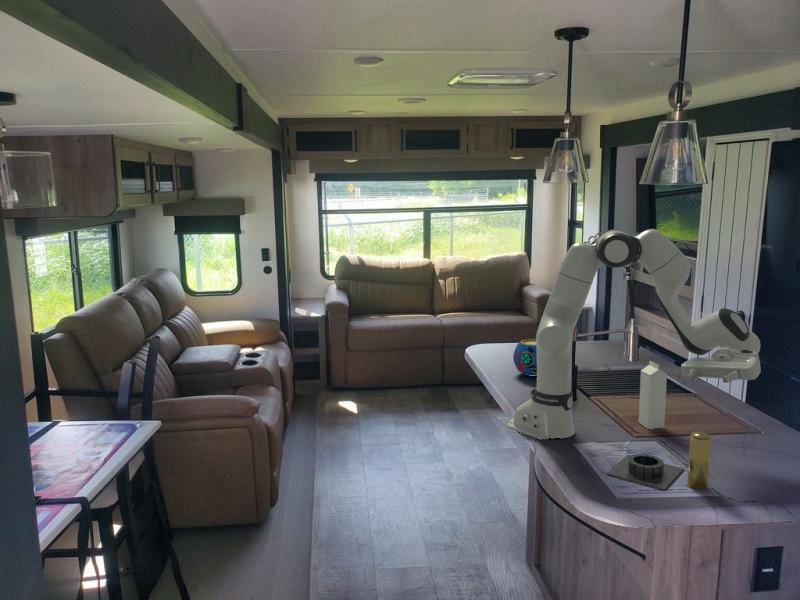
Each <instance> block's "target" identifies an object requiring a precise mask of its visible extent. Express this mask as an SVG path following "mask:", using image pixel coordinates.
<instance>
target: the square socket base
mask: <svg viewBox="0 0 800 600" xmlns="http://www.w3.org/2000/svg"><path fill="white" fill-rule="evenodd" d="M683 471H685V470H684V468H683V467H679V466H675V465H672V464H667V463H664V461H663V459H662V458H660V457H657V456H655V455H652V454H646V453H635V454H627V455H625V456H624V457H623V458H622V459H621V460H620V461H619V462H617V463H615V465H614V466H613V467H612V468H611V469H609V470H608V471H607V472H606V475H607V476H609V475H610V476H609V477H613V478H617V479H621V480H625V481H628V482H632V483H635V482H636V484H638V483H639V484H640V485H642V484H643V485H642V486H646V487H649V486H650V488H654V489H657V488H658V489H657V490H661V491H664V492H665V491H666V490H667V489H668V488H669V487H670V485H672V483H673V482H674V481H675V480H677V478H678V477H679V476H680V475H681V474H682V472H683Z"/></svg>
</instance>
